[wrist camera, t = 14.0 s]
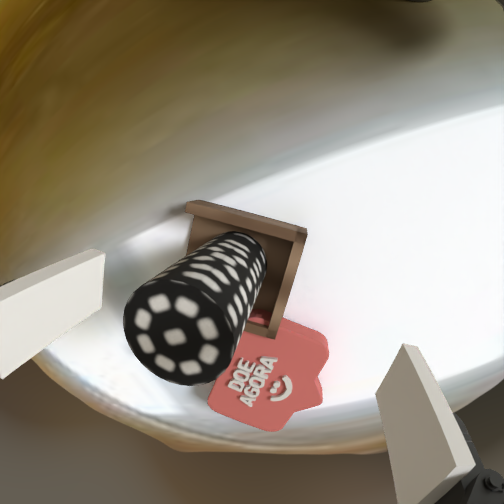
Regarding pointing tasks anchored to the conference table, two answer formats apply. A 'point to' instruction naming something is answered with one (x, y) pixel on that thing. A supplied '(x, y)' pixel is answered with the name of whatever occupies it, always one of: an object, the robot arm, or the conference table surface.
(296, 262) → the walnut tray
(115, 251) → the conference table surface
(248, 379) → the plaque
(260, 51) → the conference table surface
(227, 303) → the spotted tube
